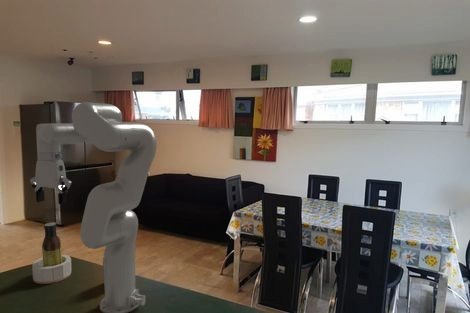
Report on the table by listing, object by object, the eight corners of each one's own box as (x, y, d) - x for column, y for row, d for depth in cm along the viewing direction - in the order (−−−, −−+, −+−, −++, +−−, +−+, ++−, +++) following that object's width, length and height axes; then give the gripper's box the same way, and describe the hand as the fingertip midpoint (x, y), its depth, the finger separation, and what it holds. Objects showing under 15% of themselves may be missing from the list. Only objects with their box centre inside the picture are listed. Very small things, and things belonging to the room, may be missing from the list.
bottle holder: (78, 270, 128) (78, 256, 127) (53, 286, 116) (52, 270, 115) (51, 266, 131) (51, 252, 131) (24, 281, 119) (23, 266, 118)
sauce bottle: (51, 269, 127) (49, 220, 125) (66, 270, 126) (64, 221, 124) (39, 277, 120) (36, 225, 118) (54, 278, 120) (52, 226, 117)
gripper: (76, 157, 121) (78, 201, 122) (38, 155, 125) (40, 198, 126) (61, 159, 113) (63, 206, 115) (21, 157, 117) (23, 203, 119)
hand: (51, 202), depth 121 cm, fingers open, 9 cm apart
